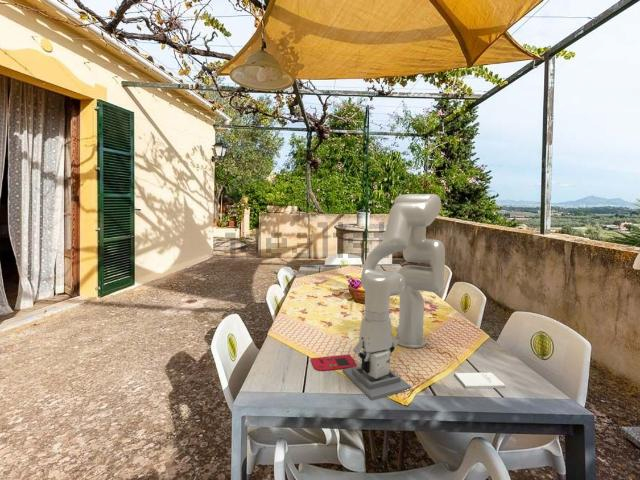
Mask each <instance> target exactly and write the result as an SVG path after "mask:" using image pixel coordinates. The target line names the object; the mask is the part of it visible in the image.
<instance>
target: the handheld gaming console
mask: <svg viewBox="0 0 640 480" xmlns="http://www.w3.org/2000/svg"><path fill="white" fill-rule="evenodd" d="M310 363H311V365H312V367H313V369H314V370H315V371H318V372H330V371H337V370H338V371H339V370H343V369H347V368H351V367H356V366H357V362H356V361H355V360H354V358H353V357H352V356H351V355H350V354H341V355H340V354H339V355H331V356H330V355H329V356H319V357H311V358H310Z"/></svg>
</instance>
